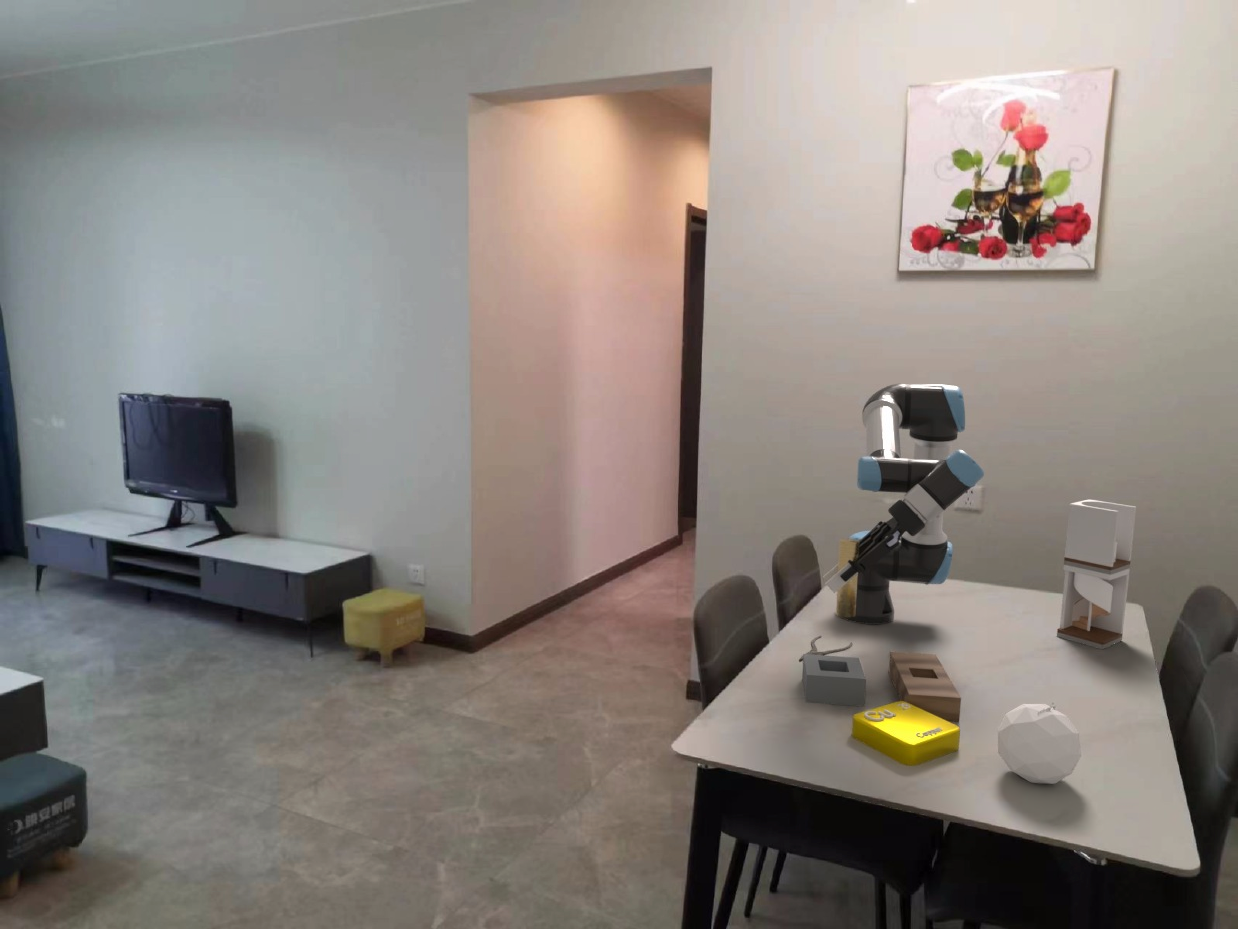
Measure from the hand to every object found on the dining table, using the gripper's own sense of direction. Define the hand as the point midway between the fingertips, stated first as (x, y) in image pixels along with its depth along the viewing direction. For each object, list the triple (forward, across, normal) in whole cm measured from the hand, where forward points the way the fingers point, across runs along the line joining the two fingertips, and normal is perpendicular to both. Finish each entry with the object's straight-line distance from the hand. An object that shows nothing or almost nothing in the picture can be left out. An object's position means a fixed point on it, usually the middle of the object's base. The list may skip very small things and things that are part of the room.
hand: (828, 584), depth 185 cm
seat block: (+16, 0, -18) cm, 24 cm away
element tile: (+8, -21, -27) cm, 35 cm away
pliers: (+15, +25, -20) cm, 36 cm away
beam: (+2, +2, -32) cm, 32 cm away
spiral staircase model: (-33, +46, -68) cm, 89 cm away
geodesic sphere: (-6, -31, -41) cm, 52 cm away
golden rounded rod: (+2, 0, -7) cm, 7 cm away
